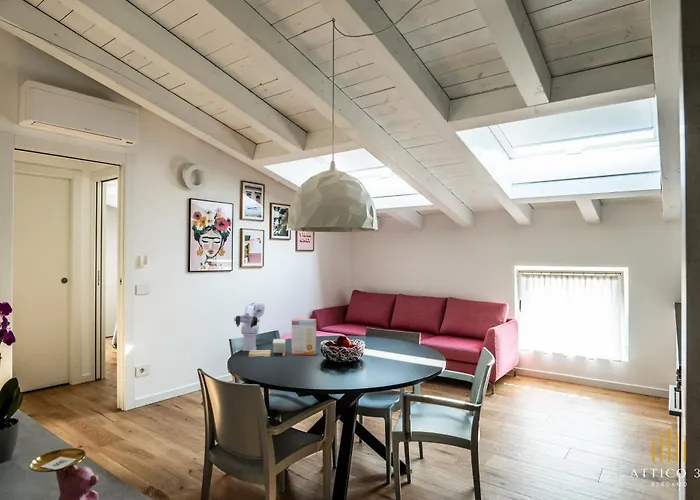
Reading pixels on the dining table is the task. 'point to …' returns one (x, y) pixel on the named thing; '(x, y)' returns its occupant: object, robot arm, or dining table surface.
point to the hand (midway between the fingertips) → (244, 325)
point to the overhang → (279, 346)
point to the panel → (259, 353)
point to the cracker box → (303, 336)
